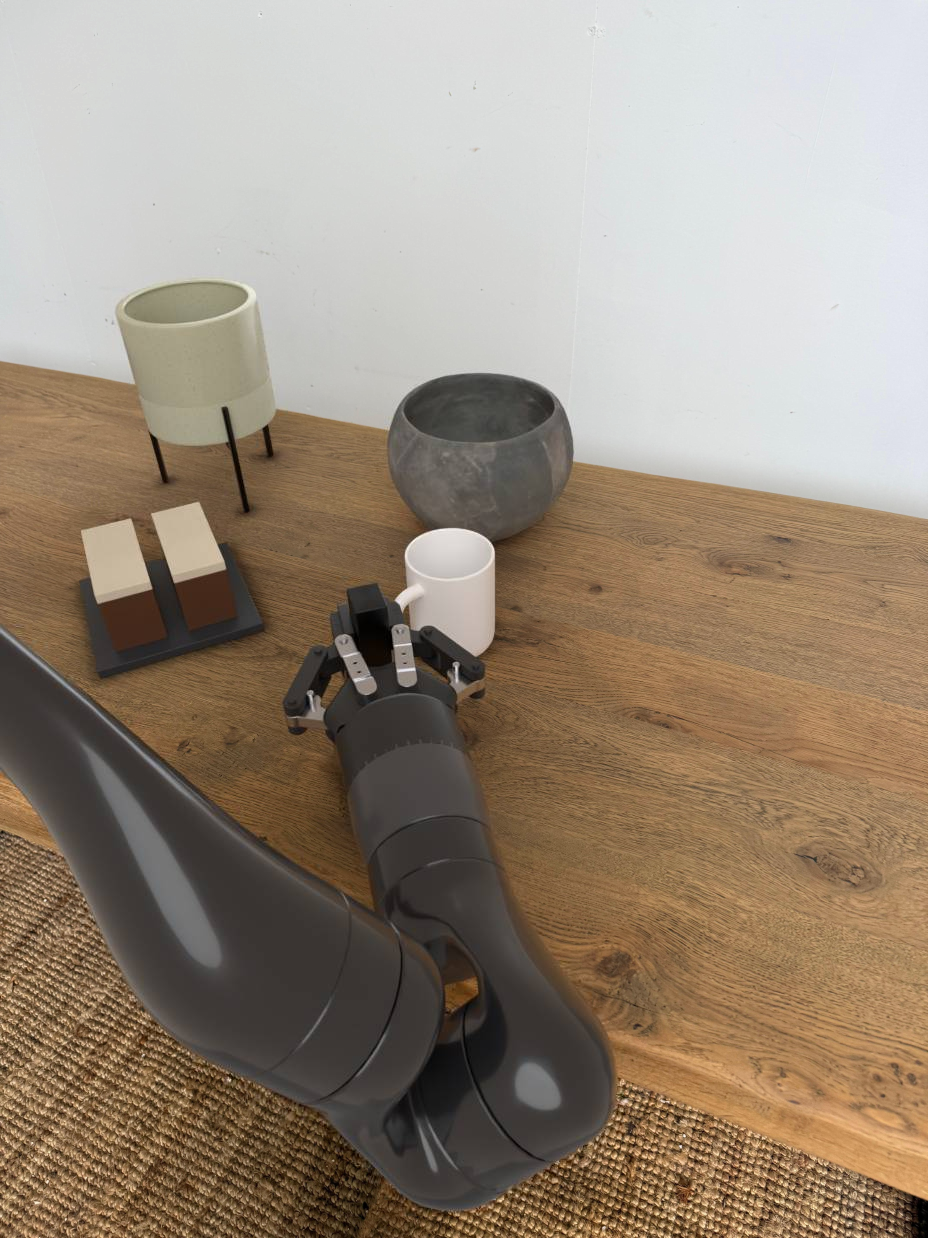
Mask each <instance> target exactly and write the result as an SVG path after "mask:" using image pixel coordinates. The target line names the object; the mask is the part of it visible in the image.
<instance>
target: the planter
mask: <svg viewBox="0 0 928 1238" xmlns="http://www.w3.org/2000/svg"><path fill="white" fill-rule="evenodd" d="M114 314H115V317H116V320H117V321H116V322H117V324H118V327H119V331H120V335H121V338H122V341H123V347H124V349H125V353H126V356H127V360H128V364H129V367H130V371H131V374H132V377H133V381H134V385H135V387H136V388H135V389H136V393H137V395H138V399H139V403H140V406H141V410H142V413H143V417H144V420H145V423H146V428H147V431H148V434H149V439H150V441H151V445H152V449H153V452H154V456H155V459H156V462H157V467H158V470H159V473H160V478H161V480H162V484H167V483H169V481H170V479H169V476H168V471H167V468H166V463H165V460H164V456H163V454H162V450H161V445H160V443H159V440H160V441H161V442H165V443H167V444H172V445H176V446H183V447H184V446H185V447H207V446H215V445H222V444H225V445H226V447H227V448H228V450H229V451H230V455H231V460H232V466H233V469H234V474H235V478H236V483H237V487H238V492H239V496H240V501H241V504H242V511H243V512H244V513H245V514H247V513H250V512H251V510H250V506H249V500H248V496H247V491H246V487H245V482H244V478H243V473H242V468H241V463H240V459H239V454H238V449H237V445H236V444H237V443H236V441H238V440H241V439H243V438H246V437H249V436H251V435H253V434H255V433H257V432H259V431H261V430H262V434H263V441H264V446H265V451H266V455H267V457H273V456H274V449H273V443H272V438H271V432H270V426H269V424H270V423H271V421H272V420H273V419H274V417H275V415H276V412H277V405H276V399H275V394H274V388H273V382H272V375H271V371H270V365H269V360H268V354H267V349H266V343H265V337H264V331H263V324H262V319H261V313H260V307H259V302H258V297H257V293H256V291H255V289H254V288H252V287H251V286H250V285H249V284H246V283H243V282H241V281H237V280H234V279H233V280H232V279H226V278H218V277H217V278H216V277H215V278H214V277H198V278H197V277H195V278H184V279H176V280H170V281H165V282H160V283H156V284H152V285H149V286H146V287H144V288H141V289H138V290H135V291H133V292H131V293H130V294H128V295H126V296H125V297H123V298H122V299H120V300H119V302H118V303H117V304H116V306H115V309H114Z"/></svg>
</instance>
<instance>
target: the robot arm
mask: <svg viewBox="0 0 928 1238" xmlns="http://www.w3.org/2000/svg"><path fill="white" fill-rule="evenodd" d="M383 597H384V599H385V602H386V604H387V608H388V618H389V629H390V639H391V649H392V653H393V662H392V663H389V664H387V665H384V666H381V667H367V665H366V663H365V661H364V659H363V657H362V654H361V652H360V651H359V652H358V650H357V647H356V640H355V633H354V629H353V625H352V621H351V618H350V613H349V606H348V602H343V603H338V604H336V607H337V610H336V611H332V612H330V615H329V623H330V630H331V635H332V639H333V642H332V643H331V644H330V645H328V646H326V645H322V644H318V645H317V644H316V645H314V646H312V647H311V648H310V649H309V651H308V652H307V655H306V656H305V658H304V659H303V661H302V663H301V665H300V668H299V670H298V672H297V673H296V675H295V677H294V679H293V681H292V682H291V684H290V687H289V689H288V690H287V693H286V694H285V696H284V697H283V700H282V708H283V713H284V716H285V717H284V718H285V722H286V725H287V730H288V733H289V734H290V735H292V736H300V735H303V734H305V733H306V732H307V730H308V729H313V730H319V731H324V733H325V736H326V738H327V739H328V740H329V741H330V742H331V743H332V744H333V743H334V744H335V745H336V747H337V752H338V757H339V762H340V767H341V772H342V775H341V777H342V781H343V786H344V790H345V791H344V792H345V796H346V801H347V806H348V810H349V811H348V812H349V824H350V827H351V830H352V832H353V835H354V840H355V843H356V847H357V849H358V852H359V856H360V858H361V860H362V863H363V866H364V868H365V872H366V875H367V880H368V881H367V882H368V886H369V890H370V895H371V900H372V904H373V909H371V908H370V907H368V906H367V905H365V904H363V903H362V902H360V901H358V900H357V899H356V898H353V897H352V896H350V895H349V894H347V893H345V892H344V891H342V890H340V889H339V888H338V887H335V886H334V885H332V884H331V883H329V882H327V881H326V880H324V879H323V878H322V877H320V876H317V875H316V874H314V873H313V872H311V871H309V870H308V869H306V868H305V867H302V865H299V864H298V863H296V862H295V861H293V860H292V859H291V858H289V857H288V856H286V855H285V854H283V853H282V852H280V851H279V850H277V849H276V848H274V847H273V846H272V845H270V844H269V843H267V842H265V841H264V840H263V839H262V838H260V837H259V836H257V834H255V833H254V832H252V830H250V829H248V828H247V827H246V826H244V825H243V824H241V823H240V822H239V821H237V820H236V819H235V818H234V817H233V816H232V815H230V814H229V813H228V812H227V811H226V810H224V808H222V807H221V806H220V805H218V804H217V803H216V802H215V801H214V800H212V799H211V798H210V797H209V796H207V794H205V793H204V792H203V791H202V790H200V788H198V787H197V786H196V784H194V783H192V782H191V780H189V779H188V778H187V777H186V776H184V775H183V774H182V773H181V772H180V771H179V770H178V769H177V768H175V767H174V766H173V765H172V764H170V763H169V761H167V760H166V759H165V758H164V757H162V755H160V754H159V753H158V752H157V751H156V750H154V749H153V748H152V747H151V746H150V745H149V744H148V743H146V742H145V741H144V739H143V740H142V738H140V737H139V736H138V735H137V734H136V733H135V732H134V731H132V730H131V729H130V728H129V727H128V726H126V725H125V724H124V723H123V722H122V721H121V720H119V719H118V718H117V717H116V716H115V715H113V714H112V713H111V712H109V710H108V709H106V708H105V707H104V706H103V705H102V704H101V703H99V702H98V701H97V700H96V699H94V698H93V697H92V696H91V695H90V694H89V693H87V692H86V691H85V690H84V689H83V688H81V687H80V686H79V685H78V684H76V683H75V682H74V681H73V680H71V679H70V678H69V677H68V676H67V675H65V674H64V673H63V672H62V671H60V670H59V669H58V668H57V667H56V666H54V665H53V664H52V663H51V662H49V661H48V660H47V659H46V658H45V657H43V656H42V655H41V654H40V653H39V652H37V651H36V650H35V649H34V648H33V647H31V646H30V645H28V643H26V642H25V641H24V640H23V639H22V638H20V636H18V635H17V634H16V633H14V631H12V630H11V629H9V628H8V627H7V626H6V625H5V624H4V623H2V622H1V621H0V771H1V773H2V774H3V775H4V776H5V777H7V779H8V780H9V781H10V782H11V783H12V785H14V786H15V788H16V789H17V790H18V791H19V792H20V794H22V796H23V797H24V799H25V800H26V802H28V804H29V805H30V806H31V807H32V809H33V810H34V812H35V813H36V814H37V816H38V817H39V819H40V821H41V822H42V824H43V826H44V828H45V829H46V831H47V832H48V834H49V835H50V837H51V839H52V840H53V843H55V845H56V847H57V849H58V850H59V852H60V853H61V855H62V857H63V859H64V861H65V862H66V864H67V866H68V868H69V870H70V872H71V874H72V876H73V878H74V880H75V882H76V884H77V886H78V888H79V891H80V892H81V894H82V896H83V898H84V900H85V902H86V904H87V907H88V908H89V911H90V913H91V915H92V918H93V920H94V921H95V924H96V926H97V929H98V930H99V932H100V934H101V936H102V939H103V941H104V943H105V945H106V947H107V949H108V950H109V953H110V955H111V957H112V958H113V961H114V962H115V964H116V967H117V968H118V971H119V972H120V974H121V976H122V978H123V980H124V981H125V983H126V985H127V987H128V988H129V990H130V991H131V992H132V994H133V996H134V998H135V999H136V1000H137V1002H138V1003H139V1004H140V1005H141V1007H142V1008H143V1009H144V1010H145V1012H146V1013H147V1014H148V1016H149V1017H150V1018H151V1019H152V1020H153V1021H154V1022H155V1023H156V1024H157V1025H158V1026H159V1027H160V1028H161V1029H162V1030H163V1031H164V1032H165V1033H166V1034H167V1035H168V1036H169V1037H171V1038H172V1039H173V1040H175V1041H176V1042H177V1043H178V1044H179V1045H181V1046H182V1047H183V1048H184V1049H186V1050H187V1051H189V1052H190V1053H191V1054H193V1055H195V1056H196V1057H198V1058H200V1059H202V1060H203V1061H205V1062H207V1063H209V1064H211V1065H212V1066H214V1067H217V1068H219V1069H221V1070H224V1071H225V1072H228V1073H230V1074H233V1075H236V1076H238V1077H240V1078H242V1079H245V1080H247V1081H249V1082H251V1083H253V1084H256V1085H258V1086H261V1087H262V1088H265V1089H266V1090H269V1091H270V1092H274V1093H276V1094H277V1095H280V1096H282V1097H285V1098H287V1099H289V1100H291V1101H293V1102H295V1103H297V1104H300V1105H303V1106H305V1107H308V1108H310V1109H312V1110H316V1111H317V1112H318V1113H319V1114H320V1115H321V1117H323V1118H324V1119H325V1120H326V1121H327V1122H328V1123H329V1124H330V1125H331V1126H332V1128H334V1129H335V1130H336V1132H337V1133H338V1134H340V1136H341V1137H342V1138H343V1139H344V1140H345V1141H346V1142H347V1143H348V1144H349V1145H350V1146H352V1148H353V1149H355V1150H356V1151H357V1153H359V1154H360V1155H361V1156H362V1158H364V1159H365V1160H367V1162H368V1163H370V1165H371V1166H372V1167H373V1168H374V1169H375V1170H376V1172H378V1173H379V1174H380V1175H381V1176H382V1177H383V1178H384V1179H385V1180H386V1181H387V1182H388V1183H389V1184H390V1185H391V1186H392V1187H393V1188H394V1189H395V1190H396V1191H397V1192H398V1193H400V1194H401V1195H403V1196H404V1197H405V1198H406V1199H408V1200H410V1201H411V1202H413V1203H415V1204H417V1205H419V1206H422V1207H424V1208H429V1209H433V1210H437V1211H446V1212H462V1211H463V1212H464V1211H469V1210H474V1209H477V1208H480V1207H482V1206H485V1205H487V1204H489V1203H491V1202H493V1201H495V1200H496V1199H498V1198H499V1197H501V1196H503V1195H504V1194H506V1193H507V1192H509V1191H511V1190H512V1189H514V1188H515V1187H517V1186H519V1185H521V1184H522V1183H524V1182H525V1181H527V1180H529V1179H531V1178H532V1177H534V1176H536V1175H537V1174H538V1173H540V1172H542V1171H544V1170H545V1169H547V1168H549V1167H550V1166H552V1165H553V1164H555V1163H556V1162H558V1161H561V1160H562V1159H564V1158H566V1157H568V1156H569V1155H571V1154H573V1153H574V1152H576V1151H578V1150H580V1149H581V1148H582V1147H583V1146H585V1145H587V1144H589V1143H590V1142H592V1141H593V1140H594V1139H596V1137H598V1136H599V1135H600V1134H601V1133H602V1132H603V1131H604V1130H605V1128H606V1127H607V1125H608V1124H609V1122H610V1120H611V1119H612V1117H613V1114H614V1110H615V1108H616V1103H617V1096H618V1090H619V1089H618V1086H619V1085H618V1083H619V1082H618V1081H619V1080H618V1077H619V1075H618V1065H617V1059H616V1055H615V1050H614V1046H613V1044H612V1041H611V1038H610V1037H609V1033H608V1032H607V1030H606V1027H605V1026H604V1024H603V1023H602V1021H601V1019H600V1018H599V1016H598V1014H596V1013H597V1012H595V1010H594V1009H593V1007H592V1006H591V1004H590V1003H589V1002H588V1001H587V999H586V998H585V996H584V995H583V994H582V992H581V991H580V990H579V988H578V987H577V986H576V985H575V983H574V982H573V980H571V978H570V977H569V976H568V974H567V973H566V972H565V970H564V969H563V968H562V966H561V965H560V963H559V962H558V961H557V960H556V958H555V957H554V955H553V954H552V953H551V951H550V949H549V948H548V946H547V944H545V942H544V941H543V939H542V938H541V935H540V934H539V933H538V932H537V929H536V928H535V926H534V925H533V923H532V922H531V920H530V919H529V916H527V913H526V912H525V911H524V909H523V907H522V906H521V903H520V902H519V900H518V898H517V896H516V894H515V892H514V890H513V887H512V884H511V881H510V877H509V875H508V872H507V868H506V865H505V863H504V860H503V857H502V855H501V852H500V849H499V846H498V843H497V840H496V838H495V835H494V830H493V827H492V821H491V814H490V811H489V806H488V801H487V798H486V796H485V793H484V790H483V786H482V784H481V781H480V778H479V776H478V773H477V770H476V767H475V765H474V761H473V759H472V757H471V753H470V750H469V748H468V745H467V742H466V739H465V737H464V734H463V731H462V728H461V725H460V722H459V719H458V717H457V714H458V711H459V706H458V704H459V703H461V702H462V701H463V700H466V698H470V699H472V700H480V699H482V698H484V697H485V695H486V664H485V662H484V661H482V660H481V659H479V658H478V656H477V657H475V656H474V655H472V654H471V653H470V652H468V651H467V650H466V649H464V648H463V647H461V646H460V645H459V644H457V643H456V642H455V641H453V640H452V639H450V638H449V637H448V636H446V635H445V634H444V633H442V632H441V631H439V630H438V629H437V628H435V627H434V626H429V625H428V626H424V627H422V628H421V629H420V630H419V631H417V630H411V628H410V627H409V626H408V625H407V622H406V619H405V617H404V614H402V610H401V607H400V605H399V604H398V603H397V602H396V601H395V600H394V601H390V599H389V596H388V595H383ZM415 658H417V659H418V658H420V660H421V661H422V663H424V664H425V665H427V666H428V667H430V668H431V669H432V670H433V671H435V672H436V673H437V674H439V676H441V677H443V678H444V679H445V680H447V682H446V681H444V680H442V679H440V678H439V677H437V676H435V675H434V674H431V673H430V672H428V671H426V670H425V669H423V668H421V667H420V666H417V665H415V664H416V663H415ZM337 673H340V675H341V678H342V680H343V682H344V683H343V684H342V685H341V687H340V688H339V690H338V691H337V692H336V694H335V695H334V697H333V698H332V700H331V701H330V702H329V704H328V705H327V706H328V707H327V706H326V707H327V708H326V707H325V708H324V707H323V702H322V699H323V697H324V695H325V693H326V691H327V689H328V687H329V685H330V682H331V681H332V678H333V675H335V674H337ZM475 978H476V983H477V991H478V993H477V994H476V995H474V996H473V997H471V998H469V999H468V1000H467V1001H466V1002H464V1003H463V1004H461V1005H460V1006H458V1007H457V1008H456V1009H454V1010H452V1011H451V1012H450V1013H448V1014H447V1015H446V1006H447V1005H446V1004H447V995H446V994H447V993H446V986H448V985H454V984H457V983H462V982H464V981H468V980H472V979H475Z"/></svg>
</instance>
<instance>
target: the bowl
mask: <svg viewBox="0 0 928 1238" xmlns="http://www.w3.org/2000/svg"><path fill="white" fill-rule="evenodd" d="M574 450H575V449H574V438H573V432H572V428H571V424H570V420H569V417H568V416H567V413H566V410H565V407H564V406H563V404H562V402H561V401H560V399H559V398H558V397H557V396H556V395H555V393H553V392H552V391H551V390H550V389H548V388H547V387H545V386H544V385H542V384H540V383H538V382H536V381H533V380H529V379H527V378H523V377H519V376H515V375H509V374H503V373H491V372H469V373H468V372H467V373H466V372H465V373H456V374H448V375H443V376H440V377H436V378H433V379H431V380H428V381H426V382H423V383H422V384H420V385H418V386H416V387H414V388H413V389H412V390H411V391H409V392H408V393H407V394H406V395H405V396H404V397H403V398H402V400H401V401H400V402H399V404H398V406H397V408H396V410H395V411H394V414H393V417H392V420H391V423H390V426H389V431H388V435H387V442H386V451H387V453H386V455H387V464H388V469H389V473H390V476H391V480H392V484H393V485H394V487H395V489H396V491H397V493H398V495H399V497H400V498H401V500H402V502H403V503H404V504H405V505H406V506H407V508H408V509H409V510H410V511H411V513H412V514H413V515H414V516H415V517H416V519H418V521H420V522H421V523H422V524H423V525H424V526H425V527H427V528H428V529H429V530H430V531H433V530H438V529H445V528H459V529H466V530H470V531H473V532H476V533H478V534H481V535H482V536H484V537H485V538H487V539H488V540H489V541H490V542H491V543H494V542H497V541H502V540H504V539H507V538H510V537H513V536H515V535H517V534H520V533H521V532H523V531H525V530H527V529H529V528H530V527H532V526H533V525H535V524H537V523H538V522H539V521H540V520H541V519H543V518H544V517H545V516H546V514H548V512H549V511H550V510H551V509H552V508H553V507H554V505H555V504H556V503H557V501H558V500H559V498H560V497H561V496H562V494H563V492H564V491H565V488H566V486H567V484H568V482H569V479H570V476H571V473H572V469H573V463H574V454H575V451H574Z"/></svg>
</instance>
